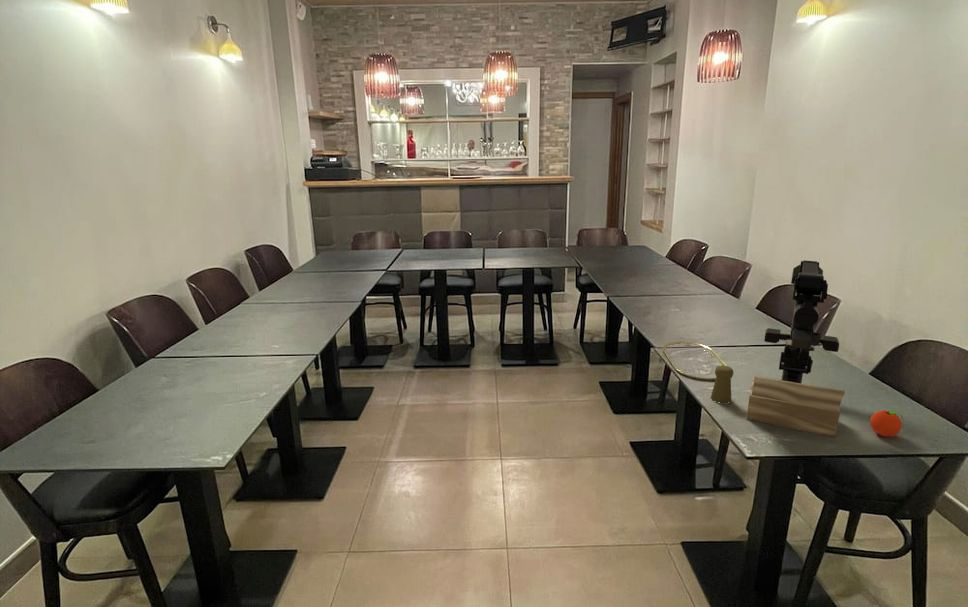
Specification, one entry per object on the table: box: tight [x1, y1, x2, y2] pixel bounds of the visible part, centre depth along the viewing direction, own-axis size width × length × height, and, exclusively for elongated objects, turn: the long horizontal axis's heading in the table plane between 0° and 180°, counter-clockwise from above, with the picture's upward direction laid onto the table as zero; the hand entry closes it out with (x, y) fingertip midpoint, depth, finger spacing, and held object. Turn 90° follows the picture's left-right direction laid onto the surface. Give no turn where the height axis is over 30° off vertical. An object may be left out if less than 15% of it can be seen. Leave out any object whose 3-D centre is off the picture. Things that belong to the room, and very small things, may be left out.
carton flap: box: [752, 375, 845, 411], centre depth 145 cm, size 11×21×1 cm
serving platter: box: [662, 341, 727, 381], centre depth 198 cm, size 19×35×2 cm, turn 176°
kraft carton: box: [746, 379, 841, 438], centre depth 155 cm, size 12×22×8 cm, turn 61°
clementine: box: [869, 409, 904, 437], centre depth 146 cm, size 8×7×7 cm
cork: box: [710, 365, 734, 404], centre depth 167 cm, size 6×6×11 cm
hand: (796, 366), depth 160 cm, fingers closed
